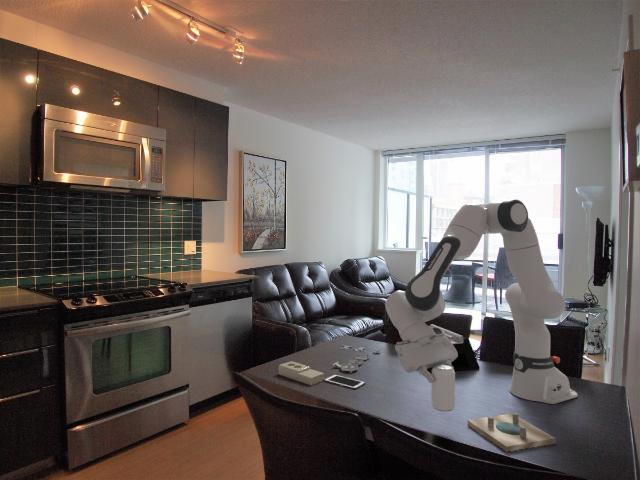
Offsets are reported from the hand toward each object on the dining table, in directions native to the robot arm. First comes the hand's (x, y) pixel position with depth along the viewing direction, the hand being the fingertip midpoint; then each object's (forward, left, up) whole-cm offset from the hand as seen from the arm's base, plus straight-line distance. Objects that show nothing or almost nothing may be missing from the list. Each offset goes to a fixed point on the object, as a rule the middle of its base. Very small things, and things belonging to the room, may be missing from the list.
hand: (442, 378), depth 121 cm
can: (0, 0, -8) cm, 8 cm away
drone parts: (+2, -71, -15) cm, 73 cm away
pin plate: (-17, +8, -15) cm, 24 cm away
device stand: (-34, -53, -15) cm, 64 cm away
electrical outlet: (+29, -53, -15) cm, 62 cm away
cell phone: (+14, -43, -15) cm, 48 cm away
